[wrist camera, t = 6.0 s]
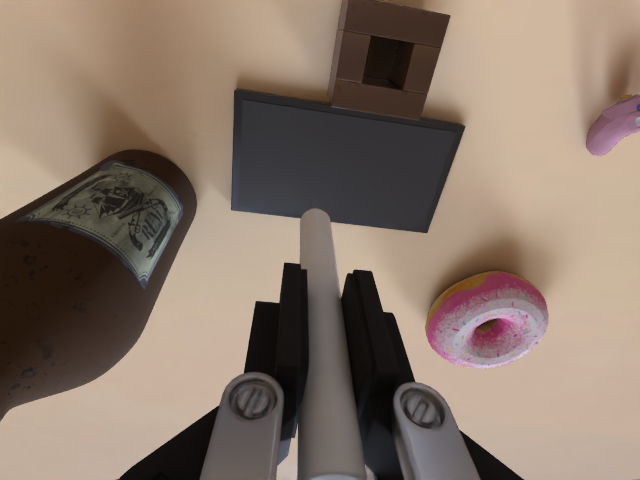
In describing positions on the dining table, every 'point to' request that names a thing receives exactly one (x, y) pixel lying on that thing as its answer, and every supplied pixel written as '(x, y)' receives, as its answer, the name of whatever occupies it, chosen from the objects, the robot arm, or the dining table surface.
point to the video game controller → (614, 125)
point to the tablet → (338, 162)
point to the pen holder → (408, 64)
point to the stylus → (326, 367)
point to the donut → (480, 306)
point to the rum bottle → (86, 272)
